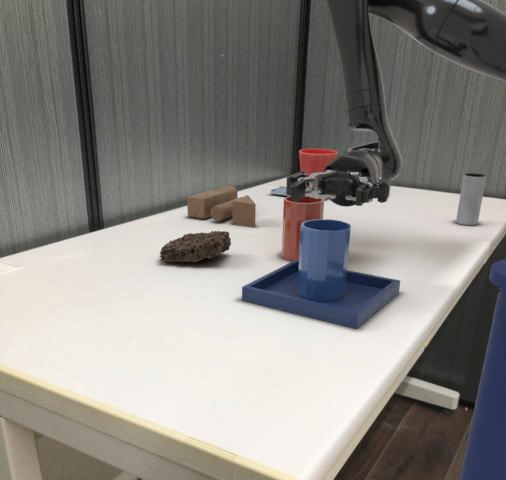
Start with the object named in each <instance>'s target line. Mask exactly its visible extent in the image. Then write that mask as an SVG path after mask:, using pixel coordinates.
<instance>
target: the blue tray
mask: <svg viewBox="0 0 506 480" xmlns="http://www.w3.org/2000/svg"><path fill="white" fill-rule="evenodd" d="M298 272H299V261H298V260H294V261H291V262H288V263H287V264H284V265H282V266H281V267H279V268H277V269H274V270H273V271H271V272H269V273H267V274H265V275H263V276H261V277H259V278H256V279H255V280H253V281H251V282H249V283H247V284H245V285H243V286H241V300H242V301H245V302H249V303H251V304H257V305H261V306H264V307H269V308H272V309H277V310H282V311H285V312H289V313H293V314H296V315H301V316H305V317H309V318H313V319H317V320H321V321H326V322H329V323H332V324H333V323H334V324H337V325H342V326H346V327H349V328H352V329H358V328H359V327H360V326H361V325H362V324H364V323H365V322H366V321H367V320H369V319H370V318H371V317H373V316H374V315H375V314H376V313H377V312H378V311H379V310H381V308H383V307H385V305H387V304H388V303H389V302H390V301H391V300H392V299H394V298H395V297H396V296H397V295H398V294H399V293H400V286H401V280H400V279H395V278H391V277H390V278H389V277H384V276H379V275H374V274H370V273H365V272H358V271H354V270H349V269H347V277H346V289H345V296H344V297H343V298H342V299H339V300H336V301H328V302H322V301H313V300H309V299H305V298H303V297H301V296H300V295H299V294H298Z"/></svg>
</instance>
